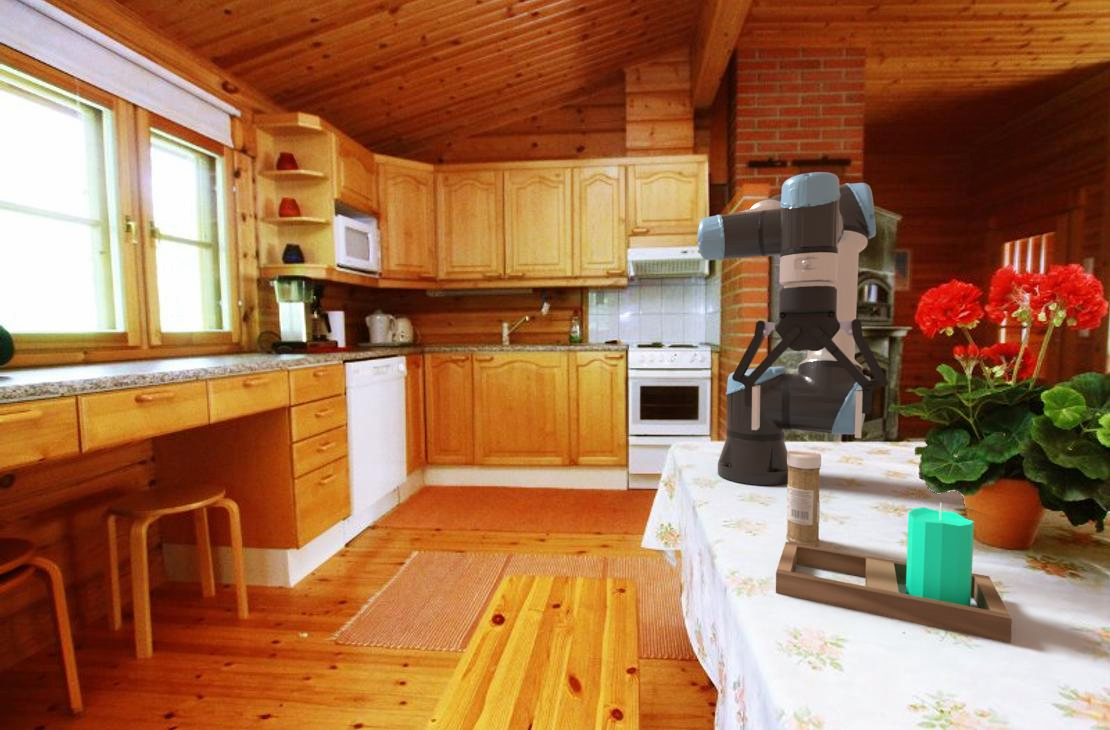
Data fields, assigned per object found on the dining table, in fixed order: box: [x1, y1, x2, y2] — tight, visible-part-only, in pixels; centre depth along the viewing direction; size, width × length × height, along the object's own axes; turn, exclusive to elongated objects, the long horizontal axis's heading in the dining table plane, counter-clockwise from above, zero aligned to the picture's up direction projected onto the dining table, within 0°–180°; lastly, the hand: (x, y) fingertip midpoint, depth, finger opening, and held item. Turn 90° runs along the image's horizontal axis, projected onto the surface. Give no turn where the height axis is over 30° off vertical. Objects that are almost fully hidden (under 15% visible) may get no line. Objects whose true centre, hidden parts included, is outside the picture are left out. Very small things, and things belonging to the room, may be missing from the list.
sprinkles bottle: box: [785, 449, 822, 547], centre depth 79 cm, size 5×5×14 cm
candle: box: [905, 502, 975, 607], centre depth 61 cm, size 6×6×12 cm
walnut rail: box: [775, 541, 1013, 644], centre depth 64 cm, size 10×22×2 cm, turn 61°
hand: (804, 432), depth 79 cm, fingers open, 13 cm apart
